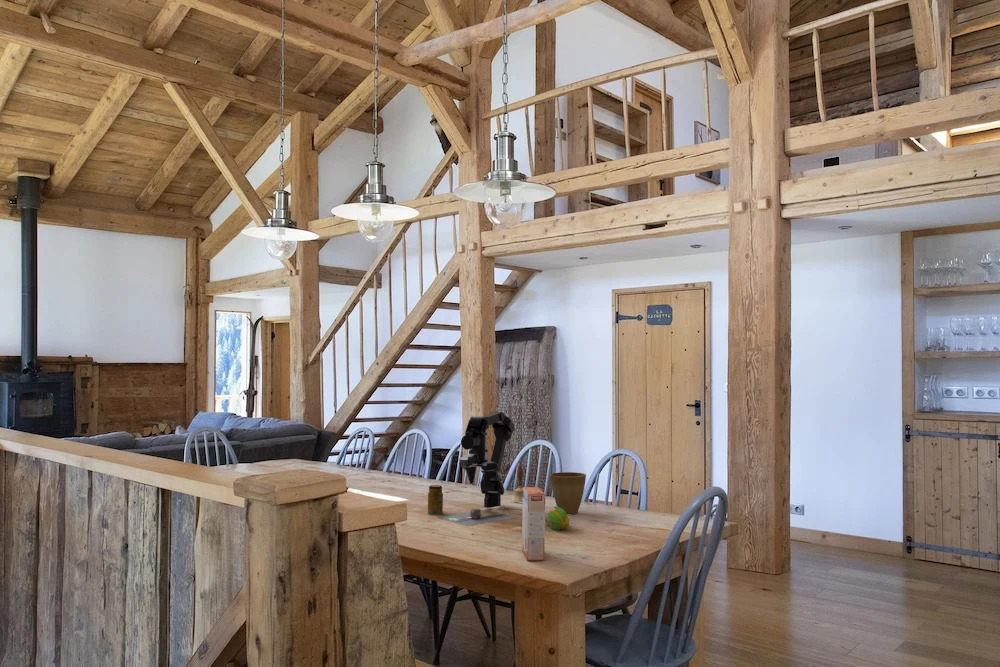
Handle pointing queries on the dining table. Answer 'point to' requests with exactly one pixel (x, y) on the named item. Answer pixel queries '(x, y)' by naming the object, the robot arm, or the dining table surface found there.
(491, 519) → the grey board
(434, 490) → the condiment
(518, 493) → the hand bell
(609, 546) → the dining table surface
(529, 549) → the cracker box
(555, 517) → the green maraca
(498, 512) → the dial lever
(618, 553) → the dining table surface
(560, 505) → the plant pot
